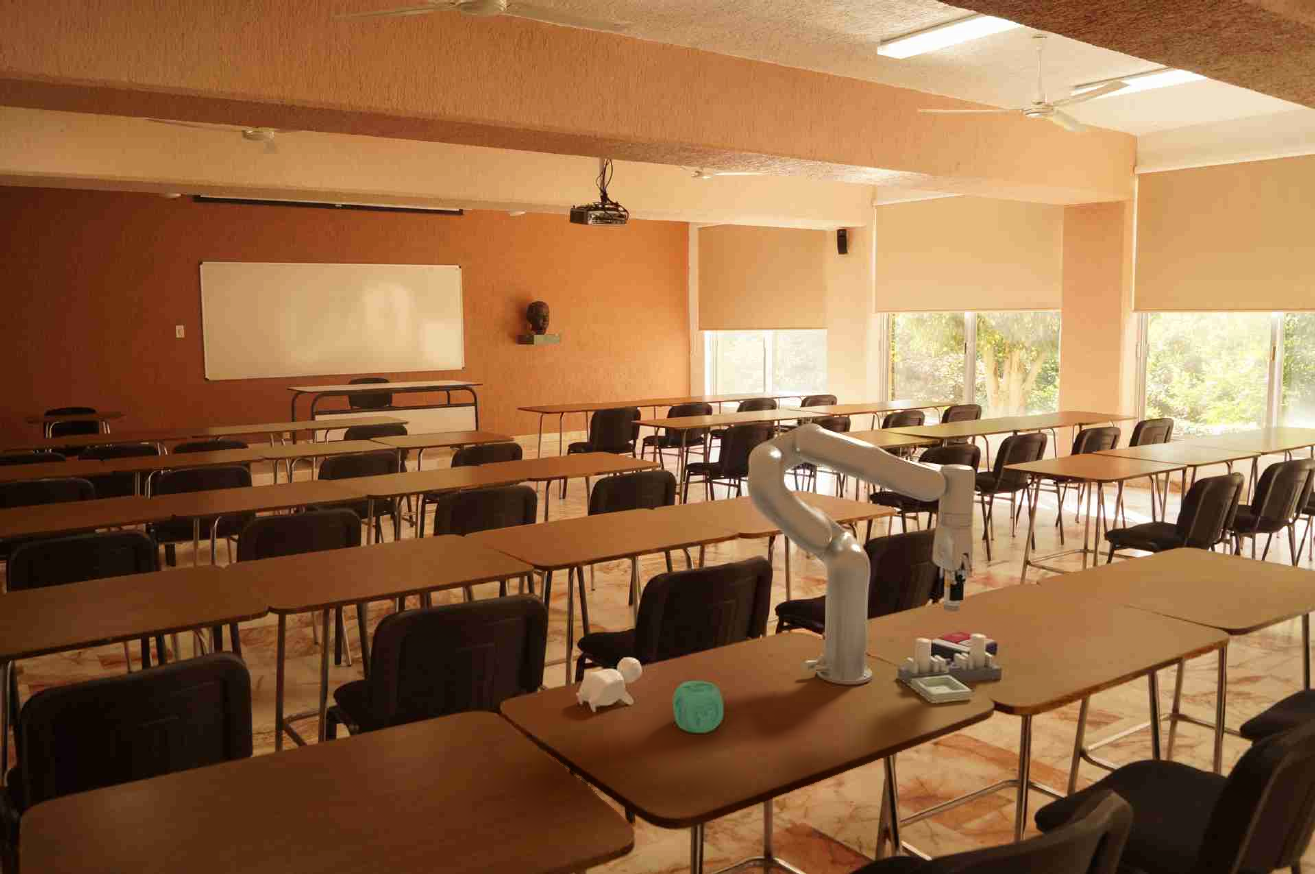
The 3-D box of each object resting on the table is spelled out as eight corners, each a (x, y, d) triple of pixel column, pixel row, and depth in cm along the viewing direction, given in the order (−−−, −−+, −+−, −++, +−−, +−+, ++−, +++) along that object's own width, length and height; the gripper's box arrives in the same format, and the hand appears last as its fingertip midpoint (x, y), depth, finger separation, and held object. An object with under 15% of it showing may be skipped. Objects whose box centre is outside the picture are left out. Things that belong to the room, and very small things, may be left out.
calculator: (998, 639, 243) (967, 650, 232) (997, 656, 243) (966, 668, 233) (958, 629, 251) (926, 639, 240) (957, 645, 251) (925, 656, 241)
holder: (910, 687, 220) (911, 646, 219) (897, 677, 226) (899, 637, 225) (1001, 678, 225) (1002, 638, 224) (986, 669, 231) (988, 630, 230)
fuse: (948, 611, 222) (949, 568, 220) (940, 607, 225) (942, 564, 224) (962, 610, 222) (963, 567, 221) (954, 606, 226) (955, 564, 225)
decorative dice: (672, 720, 202) (672, 683, 201) (707, 715, 204) (708, 678, 203) (687, 736, 194) (687, 697, 193) (723, 730, 197) (724, 692, 196)
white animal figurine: (602, 727, 206) (656, 687, 213) (589, 694, 203) (644, 655, 210) (581, 713, 212) (633, 675, 220) (568, 682, 210) (622, 644, 217)
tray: (932, 703, 210) (932, 694, 210) (910, 688, 219) (911, 678, 219) (971, 700, 213) (971, 690, 212) (948, 684, 222) (949, 675, 221)
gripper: (922, 512, 228) (918, 589, 230) (959, 527, 212) (955, 609, 215) (951, 511, 230) (947, 587, 232) (990, 526, 214) (986, 607, 216)
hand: (951, 597), depth 223 cm, fingers closed on fuse, 3 cm apart
